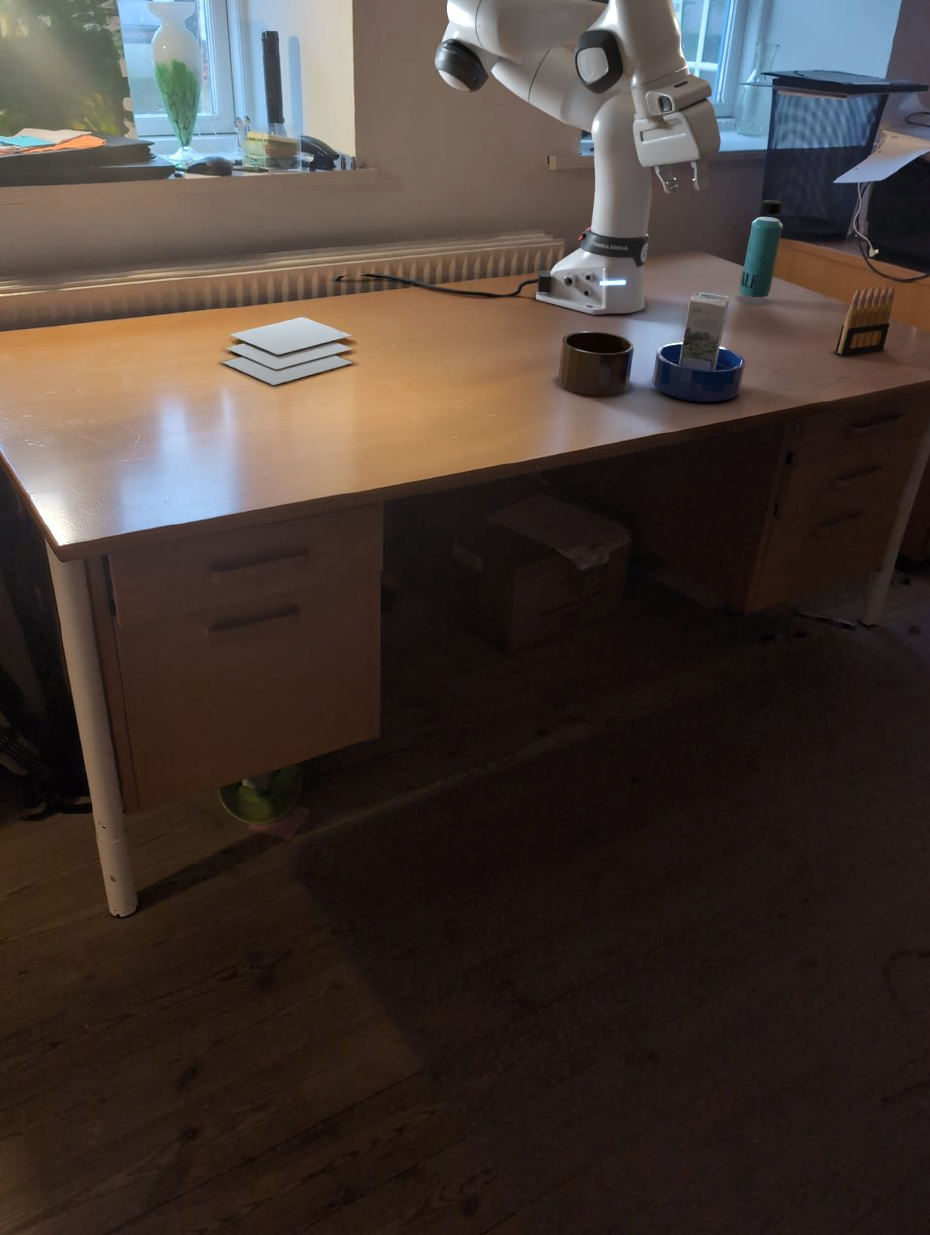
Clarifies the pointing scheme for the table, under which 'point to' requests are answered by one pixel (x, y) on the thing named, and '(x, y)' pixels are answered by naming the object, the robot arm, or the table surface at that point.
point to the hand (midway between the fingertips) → (686, 190)
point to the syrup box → (703, 331)
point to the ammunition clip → (866, 322)
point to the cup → (595, 364)
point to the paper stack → (288, 350)
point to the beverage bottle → (762, 252)
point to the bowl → (698, 376)
